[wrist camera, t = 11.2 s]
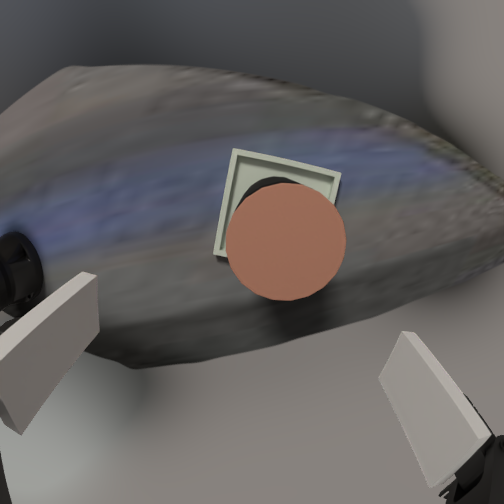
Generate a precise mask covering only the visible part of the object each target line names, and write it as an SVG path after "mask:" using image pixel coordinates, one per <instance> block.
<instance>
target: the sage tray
mask: <svg viewBox="0 0 504 504" xmlns="http://www.w3.org/2000/svg"><path fill="white" fill-rule="evenodd" d="M272 176H277V177H286V178H288V179H291V180H293V181H296V182H298V183H300V184H303V185H305V186H307V187H310V188H312V189H314V190H316V191H318V192H320V193H321V194H323V195H324V196H325V197H326V198H327V199H328V200H329V201H330V202H331V203H332V204H334V203H335V198H336V194H337V190H338V186H339V181H340V177H341V173H339V172H336V171H332V170H328V169H325V168H321V167H317V166H313V165H309V164H305V163H301V162H297V161H292V160H288V159H284V158H279V157H275V156H270V155H265V154H260V153H255V152H250V151H245V150H240V149H234V148H233V151H232V156H231V160H230V165H229V170H228V175H227V181H226V186H225V191H224V196H223V201H222V207H221V212H220V218H219V223H218V229H217V234H216V240H215V246H214V252H213V254H214V255H219V256H224V257H227V254H226V231H227V228H228V226H229V223H230V220H231V218H232V215H233V213H234V211H235V209H236V207H237V205H238V203H239V202H240V200H241V198H242V196H243V195H244V193H245V192H246V191H247V190H248V188H249V187H250V186H251V185H253V184H254V183H256V182H257V181H259V180H260V179H264V178H268V177H272Z"/></svg>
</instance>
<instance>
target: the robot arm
mask: <svg viewBox="0 0 504 504" xmlns="http://www.w3.org/2000/svg"><path fill="white" fill-rule="evenodd" d="M42 282H43V274H42V267H41V263H40V260H39V257H38V254H37V252H36V250H35V248H34V246H33V245H32V243H31V242H30V241H29V240H28V238H27V237H25V236H24V235H23V234H21V233H19V232H16V231H13V232H9V233H7V234H4V235H3V236H1V237H0V311H2V310H3V309H4V308H6V307H7V306H9V305H12V304H17V303H23V302H28V301H30V300H31V299H33V298H34V297H36V296H37V295H38V294H39V292H40V290H41V287H42ZM98 332H99V316H98V294H97V275H93V274H89V273H86V272H81V273H80V274H78V275H77V276H75V277H74V278H73V279H71V280H70V281H69V282H67V283H66V284H64V285H63V286H62V287H60V288H59V289H58V290H56V291H55V292H54V293H52V294H51V295H50V296H48V297H47V298H46V299H45V300H43V301H42V302H41V303H39V304H38V305H37V306H36V307H34V308H33V309H32V310H30V311H29V312H28V313H27V314H26V315H24V316H23V317H22V318H19V317H17V318H14V319H12V320H9V321H7V322H5V323H4V324H3V325H2V326H1V327H0V417H1V419H2V421H3V423H4V424H5V425H6V426H8V427H9V428H11V429H12V430H14V431H15V432H17V433H18V434H20V435H22V434H23V432H24V430H25V429H26V428H27V426H28V425H29V423H30V422H31V421H32V419H33V418H34V416H35V415H36V413H37V412H38V411H39V409H40V408H41V406H42V405H43V403H44V402H45V401H46V399H47V398H48V397H49V395H50V394H51V393H52V391H53V390H54V388H55V387H56V386H57V385H58V383H59V382H60V380H61V379H62V378H63V377H64V375H65V374H66V373H67V371H68V370H69V369H70V367H71V366H72V365H73V364H74V362H75V361H76V360H77V358H78V357H79V356H80V355H81V353H82V352H83V351H84V350H85V348H86V347H87V346H88V345H89V343H90V342H91V341H92V340H93V339H94V337H95V336H96V335H97V334H98ZM378 379H379V381H380V383H381V385H382V387H383V389H384V391H385V393H386V395H387V397H388V399H389V401H390V403H391V405H392V407H393V409H394V411H395V413H396V415H397V418H398V420H399V422H400V424H401V426H402V428H403V430H404V432H405V434H406V437H407V439H408V441H409V443H410V445H411V448H412V449H413V452H414V454H415V456H416V459H417V461H418V463H419V465H420V467H421V470H422V472H423V475H424V477H425V479H426V482H427V484H428V486H429V488H431V487H434V486H437V485H440V484H443V483H444V482H446V481H447V480H448V479H449V478H450V477H451V476H452V475H453V474H455V476H456V479H455V480H454V481H453V482H452V483H451V484H450V485H448V486H447V487H446V488H445V489H444V490H443V491H441V492H440V494H439V496H440V497H441V496H442V495H443V494H444V493H446V492H447V491H449V493H448V494H447V495H446V496H444V498H445V499H447V500H446V504H504V435H500V436H497V437H495V435H494V434H493V433H492V431H491V429H490V428H489V427H488V425H487V424H486V422H485V421H484V419H483V418H482V416H481V415H480V414H479V413H478V411H477V409H476V408H475V407H473V404H472V402H471V401H470V400H469V398H468V397H467V396H466V395H465V394H464V393H462V392H461V390H460V389H459V388H458V386H457V385H456V384H455V383H454V381H453V380H452V379H451V377H450V376H449V375H448V373H447V372H446V371H445V369H444V368H443V367H442V366H441V364H440V363H439V362H438V360H436V358H435V357H434V356H433V354H432V353H431V352H430V351H429V349H428V348H427V347H426V346H425V345H424V343H423V342H422V341H421V340H420V338H419V337H418V336H417V335H416V334H415V333H414V332H406V331H402V332H401V334H400V336H399V338H398V341H397V343H396V345H395V347H394V349H393V351H392V353H391V355H390V357H389V359H388V361H387V363H386V365H385V367H384V368H383V370H382V372H381V374H380V376H379V378H378ZM0 504H12V502H11V498H10V495H9V491H8V487H7V483H6V479H5V474H4V470H3V465H2V459H1V453H0Z"/></svg>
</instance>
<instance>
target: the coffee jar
mask: <svg viewBox="0 0 504 504" xmlns="http://www.w3.org/2000/svg"><path fill="white" fill-rule="evenodd" d="M345 247H346V234H345V228H344V223H343V220H342V218H341V216H340V215H339V213H338V211H337V209H336V207H335V206H334V204H332V203H331V202H330V201H329V200H328V199H327V198H326V197H325V196H324V195H323V194H321V193H320V192H318V191H316V190H314V189H312V188H310V187H307V186H305V185H303V184H300V183H298V182H296V181H293V180H291V179H288V178H286V177H277V176H272V177H268V178H264V179H260V180H259V181H257V182H256V183H254V184H253V185H251V186H250V187H249V188H248V190H247V191H246V192H245V193H244V195H243V196H242V198H241V200H240V202H239V203H238V205H237V207H236V209H235V211H234V213H233V215H232V218H231V220H230V223H229V226H228V228H227V231H226V254H227V257H228V260H229V264H230V267H231V269H232V270H233V272H234V273H235V275H236V276H237V278H238V279H239V280H240V282H241V283H242V284H243V285H245V286H246V287H247V288H249V289H250V290H251V291H253V292H254V293H255V294H258V295H260V296H263V297H266V298H269V299H272V300H286V301H292V300H296V299H300V298H304V297H308V296H310V295H311V294H313V293H315V292H317V291H318V290H320V289H322V288H323V287H325V285H326V284H327V283H328V282H329V281H330V280H331V279H332V278H333V277H334V276H335V275H336V273H337V271H338V269H339V267H340V265H341V263H342V261H343V259H344V254H345Z"/></svg>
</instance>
